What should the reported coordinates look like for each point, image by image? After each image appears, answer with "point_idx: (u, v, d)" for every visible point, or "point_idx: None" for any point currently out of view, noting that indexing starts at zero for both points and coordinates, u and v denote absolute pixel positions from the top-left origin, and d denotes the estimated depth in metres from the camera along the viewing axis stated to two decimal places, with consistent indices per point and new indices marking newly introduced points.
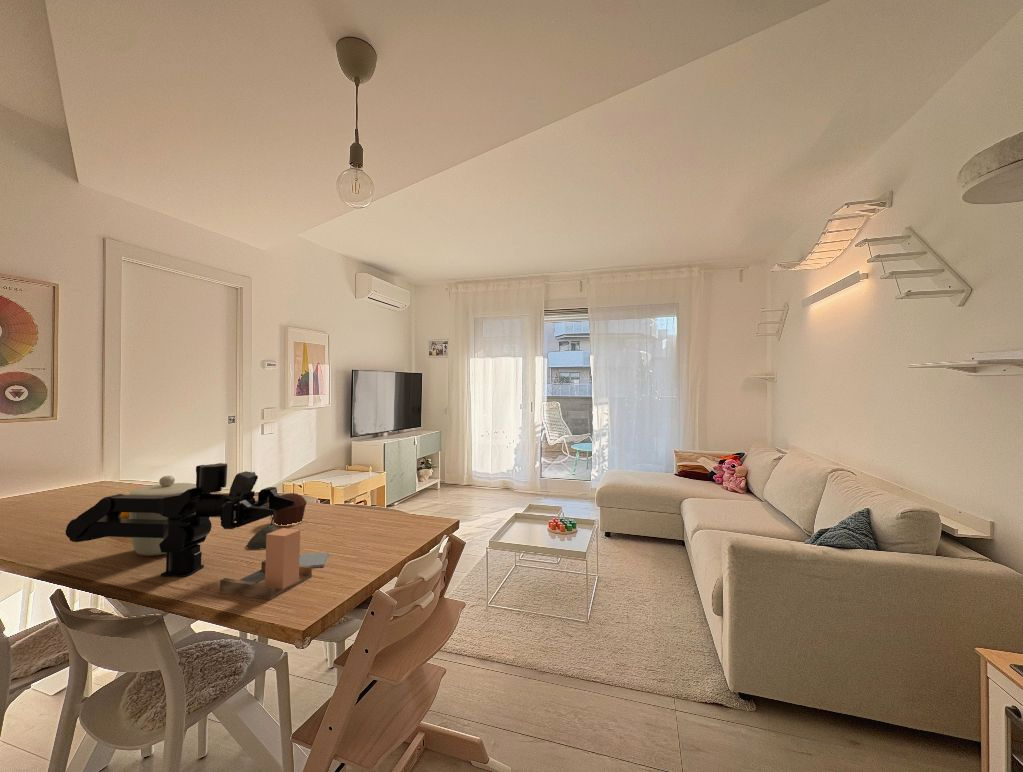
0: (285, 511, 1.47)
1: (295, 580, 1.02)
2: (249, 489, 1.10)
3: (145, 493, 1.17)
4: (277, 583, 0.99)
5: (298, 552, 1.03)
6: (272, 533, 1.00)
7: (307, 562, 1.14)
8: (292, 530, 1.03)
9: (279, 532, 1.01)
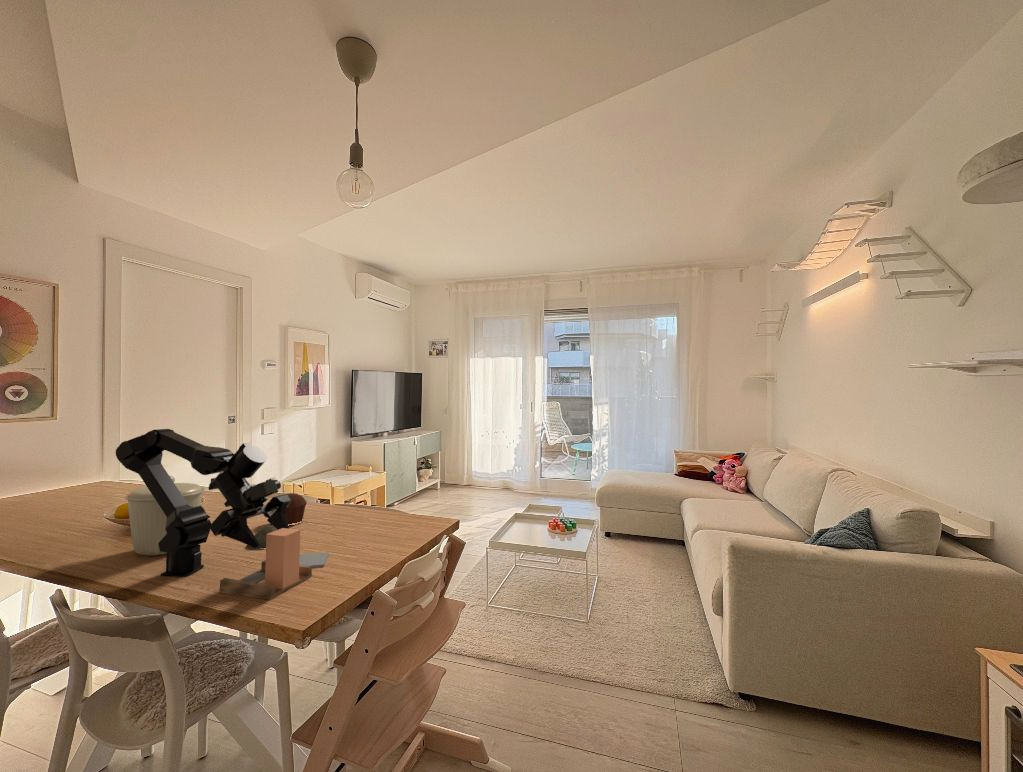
0: None
1: (295, 580, 1.02)
2: (264, 496, 1.05)
3: (145, 493, 1.17)
4: (277, 583, 0.99)
5: (298, 552, 1.03)
6: (272, 533, 1.00)
7: (307, 562, 1.14)
8: (292, 530, 1.03)
9: (279, 532, 1.01)
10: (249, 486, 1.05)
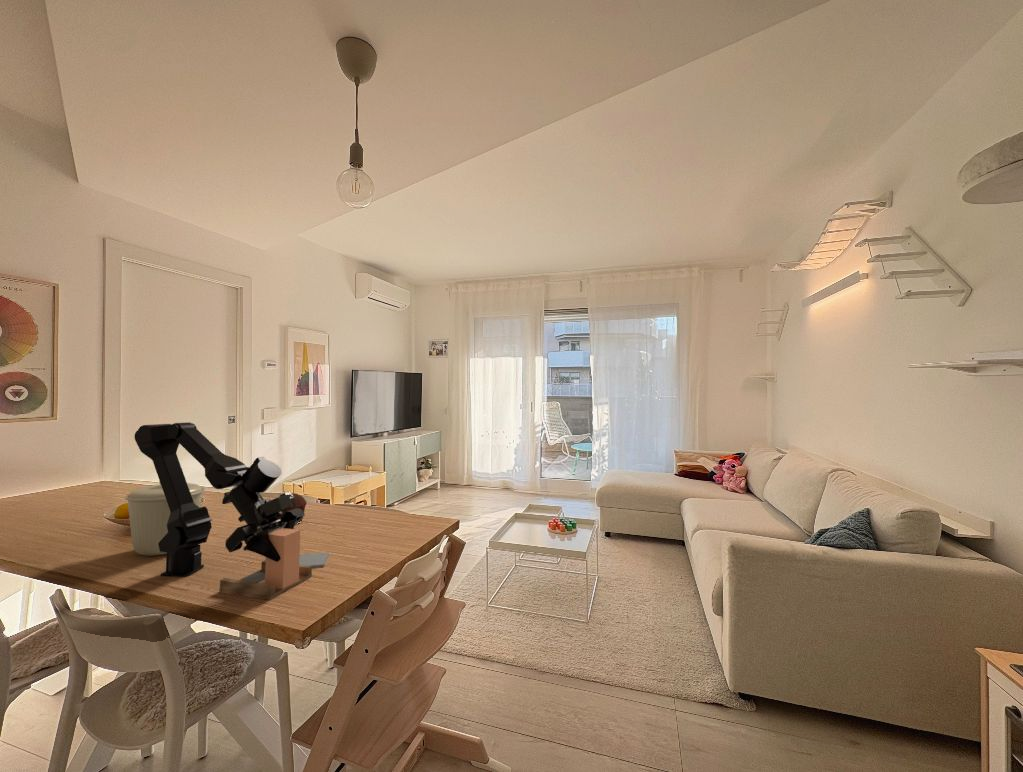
0: (285, 511, 1.47)
1: (295, 580, 1.02)
2: (278, 511, 1.04)
3: (145, 493, 1.17)
4: (277, 583, 0.99)
5: (298, 552, 1.03)
6: (272, 533, 1.00)
7: (307, 562, 1.14)
8: (292, 530, 1.03)
9: (279, 532, 1.01)
10: (263, 501, 1.04)
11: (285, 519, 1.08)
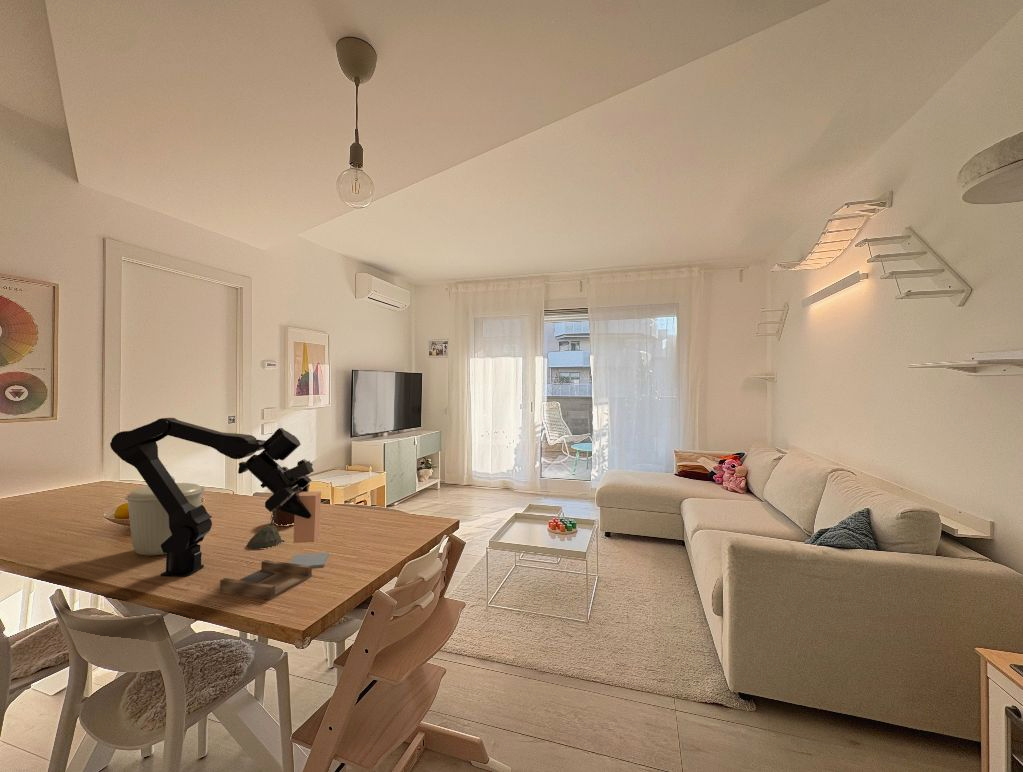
0: None
1: (318, 535, 1.15)
2: None
3: (145, 493, 1.17)
4: (307, 537, 1.11)
5: None
6: (299, 495, 1.12)
7: (307, 562, 1.14)
8: (314, 492, 1.16)
9: (304, 494, 1.13)
10: (282, 468, 1.14)
11: (297, 485, 1.19)
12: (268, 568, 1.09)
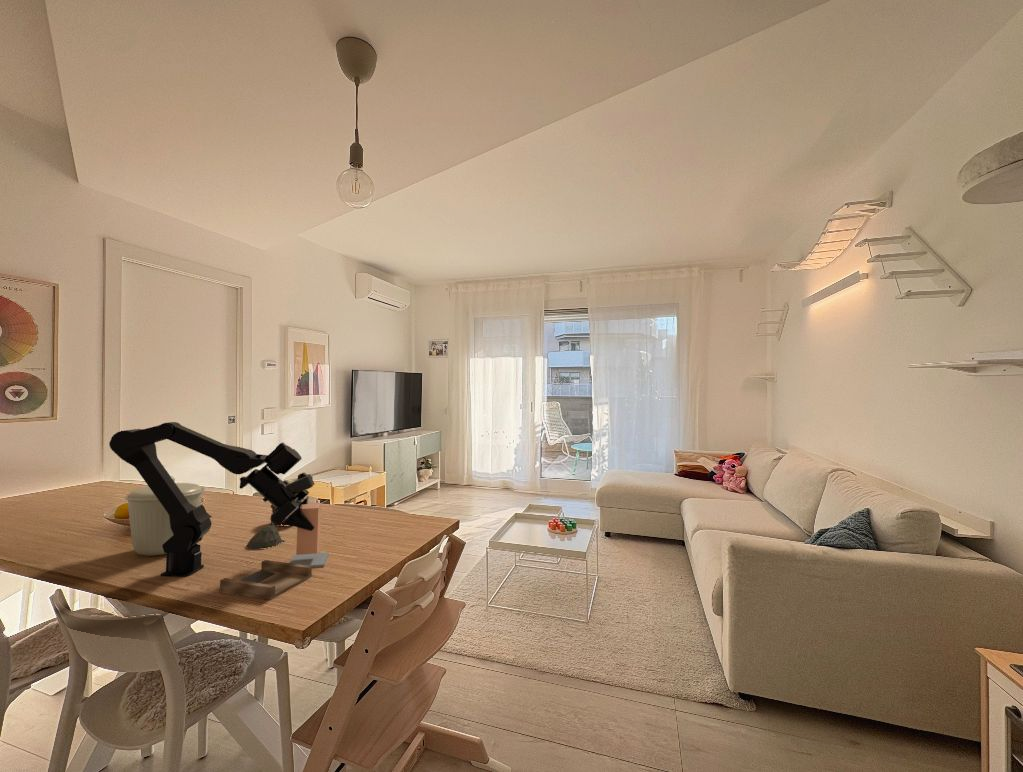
0: None
1: (319, 546, 1.18)
2: None
3: (145, 493, 1.17)
4: (310, 549, 1.14)
5: (320, 522, 1.19)
6: (302, 508, 1.15)
7: (307, 562, 1.14)
8: (315, 504, 1.19)
9: (306, 506, 1.16)
10: (283, 482, 1.16)
11: (296, 498, 1.21)
12: (268, 568, 1.09)
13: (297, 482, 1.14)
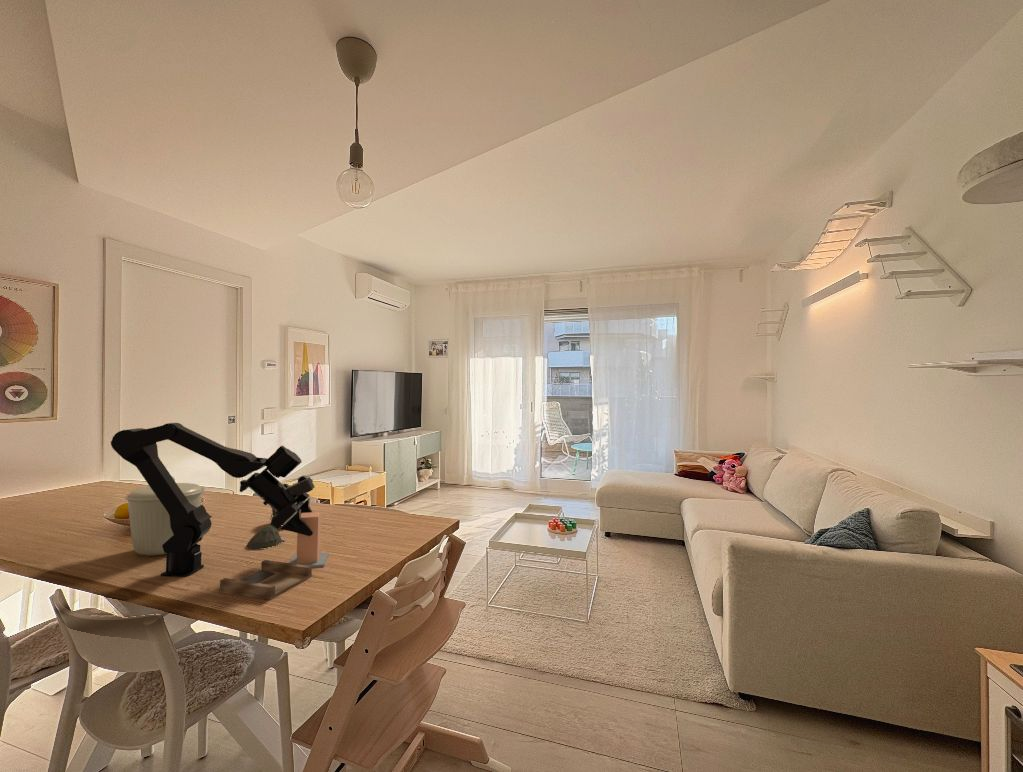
0: None
1: (319, 555, 1.18)
2: None
3: (145, 493, 1.17)
4: (310, 558, 1.14)
5: (320, 531, 1.19)
6: (302, 516, 1.15)
7: None
8: (315, 513, 1.18)
9: (306, 515, 1.16)
10: (284, 485, 1.16)
11: (297, 499, 1.23)
12: (268, 568, 1.09)
13: (297, 485, 1.14)
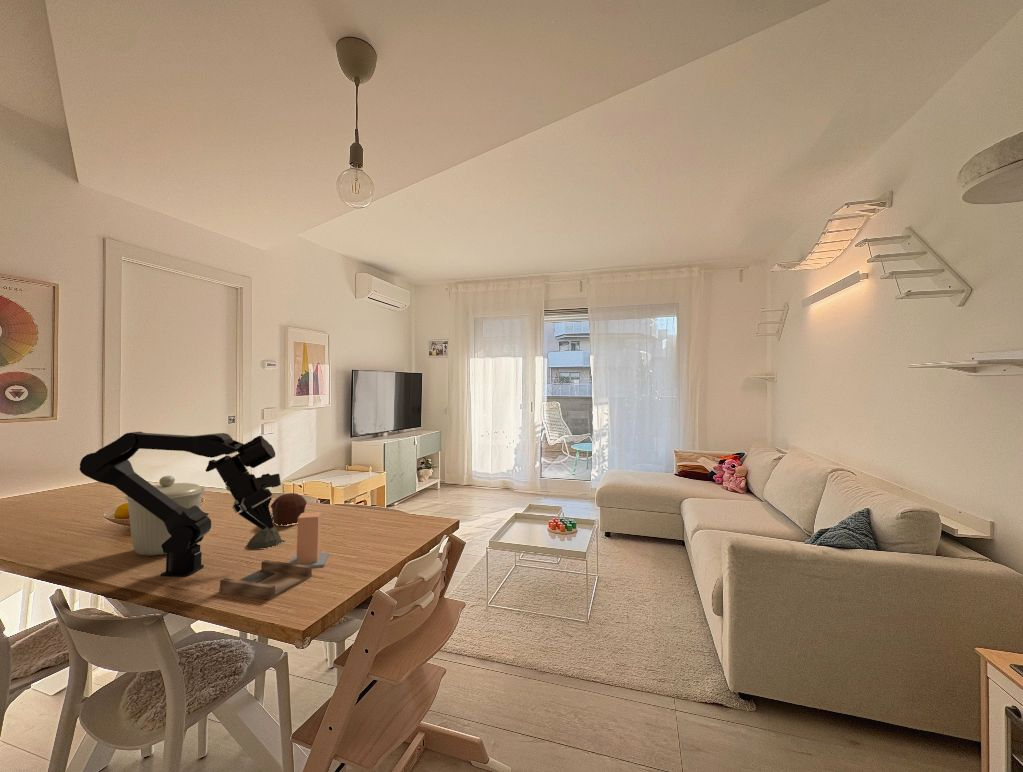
0: (285, 511, 1.47)
1: (319, 555, 1.18)
2: None
3: None
4: (310, 558, 1.14)
5: (320, 531, 1.19)
6: (302, 516, 1.15)
7: None
8: (315, 513, 1.18)
9: (306, 515, 1.16)
10: None
11: None
12: (268, 568, 1.09)
13: (269, 476, 1.14)
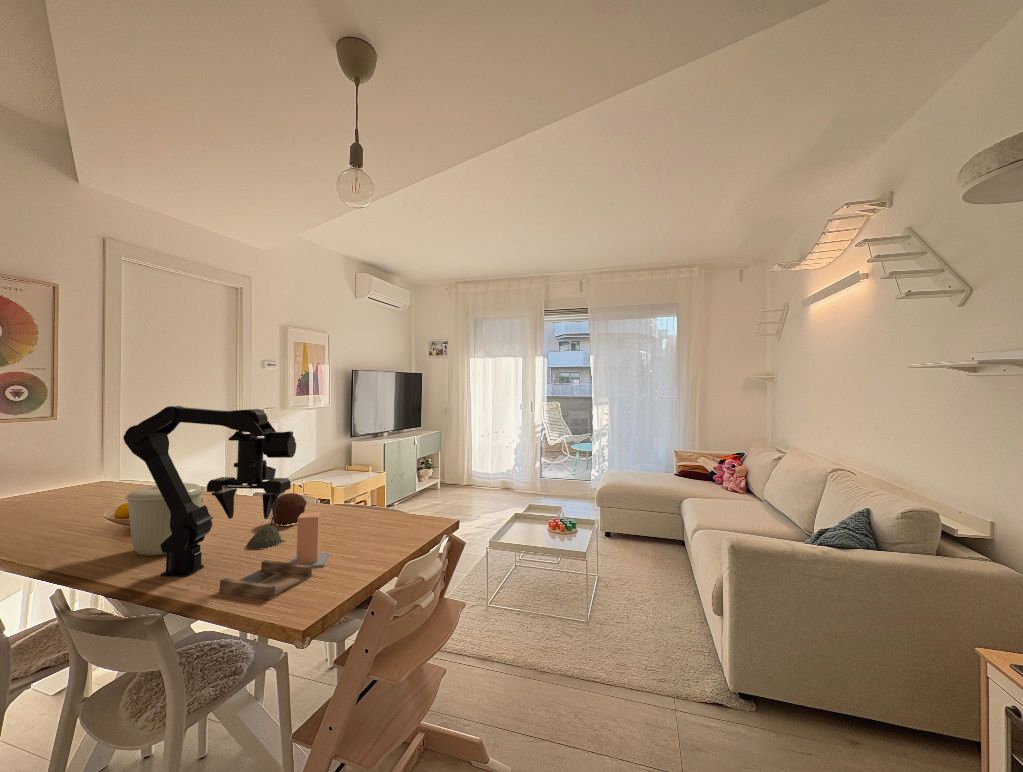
0: (285, 511, 1.47)
1: (319, 555, 1.18)
2: None
3: (145, 493, 1.17)
4: (310, 558, 1.14)
5: (320, 531, 1.19)
6: (302, 516, 1.15)
7: None
8: (315, 513, 1.18)
9: (306, 515, 1.16)
10: None
11: None
12: (268, 568, 1.09)
13: (272, 469, 1.17)
